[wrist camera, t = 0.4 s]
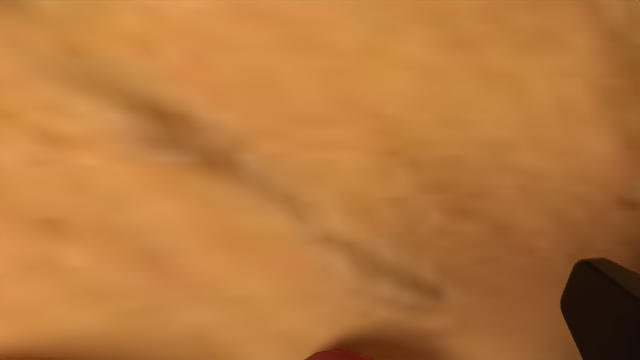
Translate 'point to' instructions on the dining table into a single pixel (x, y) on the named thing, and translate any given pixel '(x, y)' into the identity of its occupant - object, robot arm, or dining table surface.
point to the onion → (337, 355)
